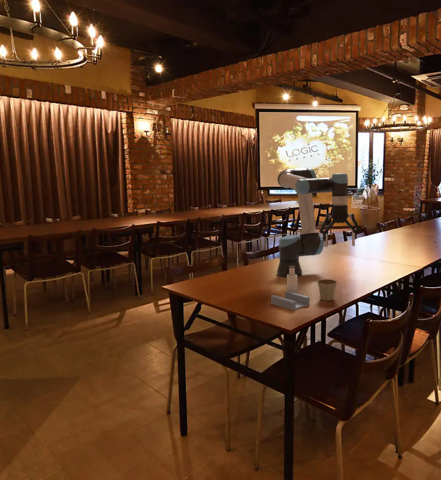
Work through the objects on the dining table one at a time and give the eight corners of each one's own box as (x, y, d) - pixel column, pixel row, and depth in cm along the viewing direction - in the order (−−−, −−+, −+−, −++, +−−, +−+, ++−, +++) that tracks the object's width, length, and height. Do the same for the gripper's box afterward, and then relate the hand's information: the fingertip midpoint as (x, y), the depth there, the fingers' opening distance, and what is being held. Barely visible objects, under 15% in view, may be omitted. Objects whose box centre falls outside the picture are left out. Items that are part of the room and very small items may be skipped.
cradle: (271, 303, 186) (270, 295, 185) (287, 298, 192) (287, 290, 192) (292, 310, 175) (292, 302, 174) (309, 304, 181) (309, 296, 180)
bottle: (285, 294, 199) (284, 266, 197) (292, 292, 202) (291, 264, 200) (292, 296, 195) (292, 267, 193) (299, 294, 198) (299, 266, 196)
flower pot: (333, 295, 193) (333, 278, 192) (340, 301, 184) (340, 283, 182) (314, 296, 193) (314, 279, 191) (320, 302, 183) (320, 284, 182)
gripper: (315, 206, 194) (316, 248, 197) (367, 204, 192) (367, 246, 196) (313, 205, 201) (313, 245, 205) (362, 202, 200) (362, 243, 203)
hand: (339, 246), depth 200 cm, fingers open, 13 cm apart
